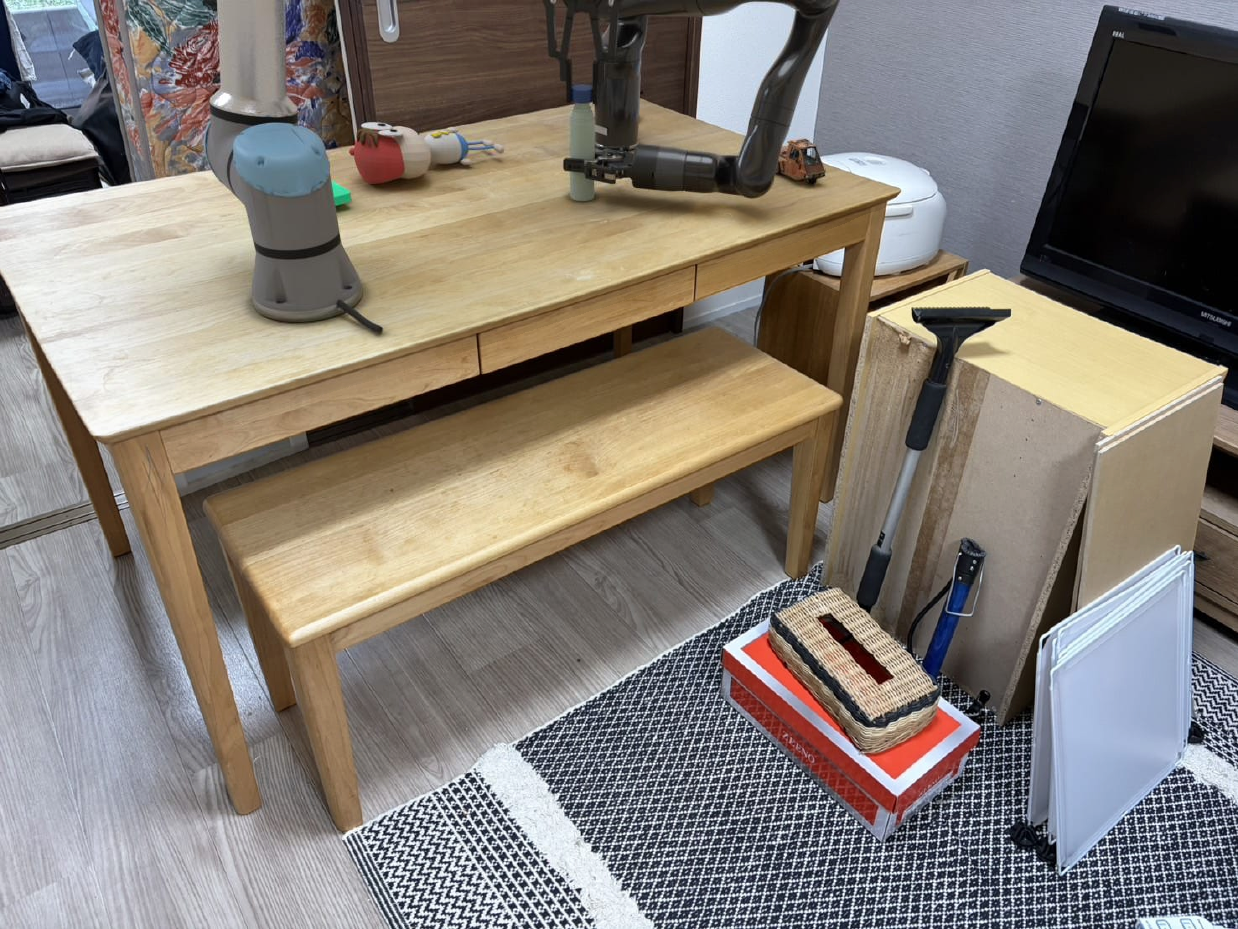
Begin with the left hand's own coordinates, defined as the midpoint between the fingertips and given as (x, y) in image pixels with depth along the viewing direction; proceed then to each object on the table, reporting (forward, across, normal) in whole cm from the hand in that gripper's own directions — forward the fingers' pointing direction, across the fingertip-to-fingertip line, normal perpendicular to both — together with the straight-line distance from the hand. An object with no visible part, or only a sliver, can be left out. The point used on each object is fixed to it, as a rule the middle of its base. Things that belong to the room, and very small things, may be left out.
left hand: (582, 100), depth 159 cm
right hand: (+10, -3, 0) cm, 11 cm away
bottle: (+17, 0, 0) cm, 17 cm away
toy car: (+17, +41, +15) cm, 47 cm away
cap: (-2, 0, 0) cm, 2 cm away
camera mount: (+17, -46, -9) cm, 50 cm away
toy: (+17, -30, +10) cm, 36 cm away
